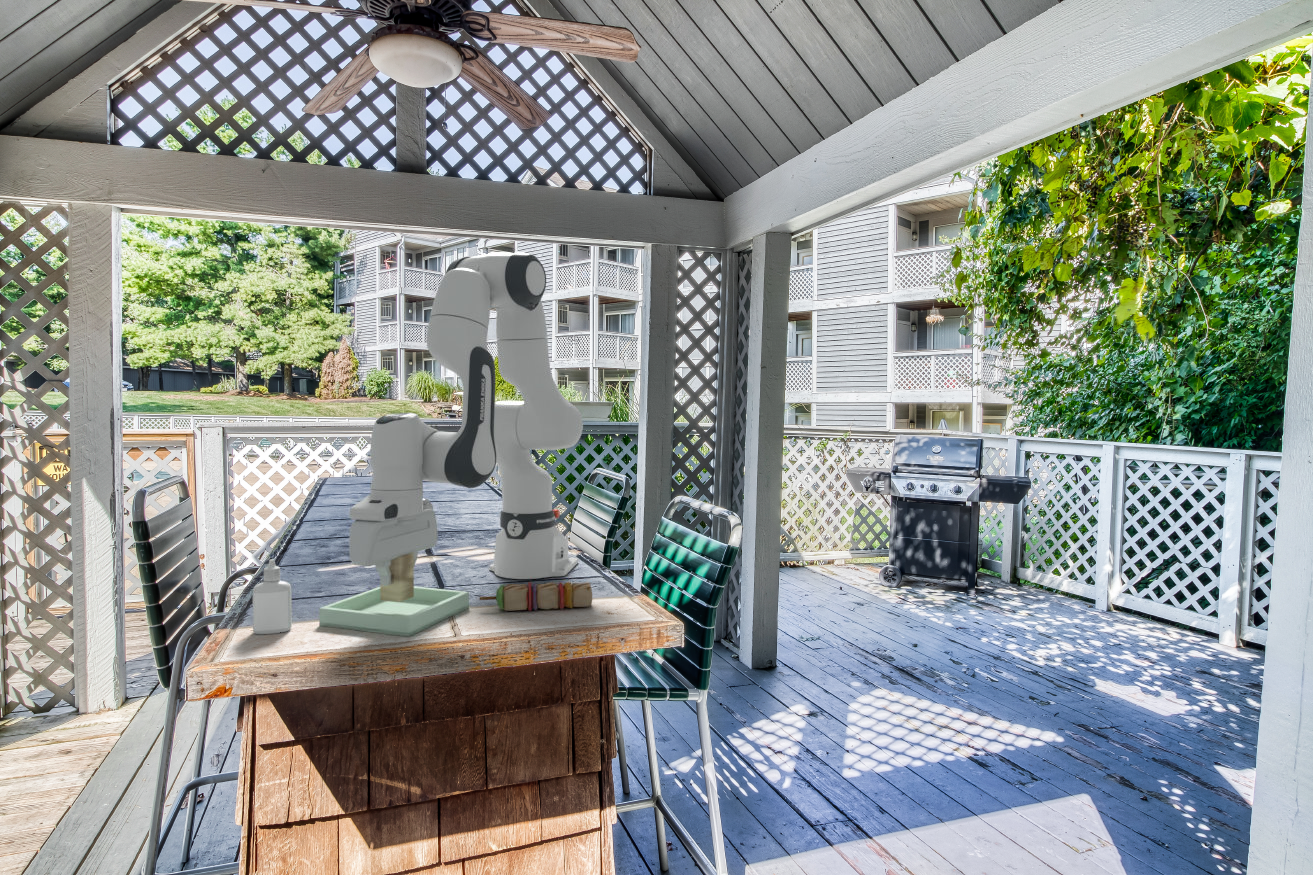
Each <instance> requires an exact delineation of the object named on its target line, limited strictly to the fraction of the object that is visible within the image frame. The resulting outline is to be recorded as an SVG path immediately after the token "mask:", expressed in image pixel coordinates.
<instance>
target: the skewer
mask: <svg viewBox="0 0 1313 875" xmlns="http://www.w3.org/2000/svg"><path fill="white" fill-rule="evenodd" d="M495 594H496V595H494V596H479V598H478V600H479V601H490V600H491V601H494V600H495V601H496V604H497V606H498V607H499V609H500V610H504V611H521V610H523V611H524V610H525V611H526V610H527V611H532V610H535V611H537V610H538V609H542V610H550V609H564V608H570V609H573V608H581V607H583V608H585V607H586V608H587V607H591V606H592V605H593V604H592V603H593V590H592V585H591V582H568V581H567V582H564V584H563V582H559V583H558V584H557V583H556V582H546V583H539V584H537V583H536V582H534V583H532V582H531V581H529V582H528V584H527V583H523V584H517V583H514V584H513V583H510V584H501V585H500V586H499V587H498V588H497V589H496V593H495Z"/></svg>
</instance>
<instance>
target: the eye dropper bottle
mask: <svg viewBox="0 0 1313 875" xmlns="http://www.w3.org/2000/svg"><path fill="white" fill-rule="evenodd" d="M268 561H269V562H268V565H267V566H266V567H264V568H263V581H262V582H260V583H258V584H256V585H255V586H254V587H253V589H252V632H253V634H255V635H274V634H275V635H276V634H279V633H280V632H281V633H285V632H289V631H290V630H291V628H292V626H293V622H292V621H293V620H292V615H293V614H292V611H293V610H292V607H293V606H292V586H291V584H290V583H289V582H288V581H284V580H281V567H280V566H278V565H276V562H275V559H269V560H268Z"/></svg>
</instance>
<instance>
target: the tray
mask: <svg viewBox="0 0 1313 875" xmlns="http://www.w3.org/2000/svg"><path fill="white" fill-rule="evenodd" d="M469 608H470V592H469V591H463V590H453V589H443V588H435V587H434V588H432V587H423V586H414V597H412V598H409V599H407V600H404V601H402V602H392V601H383V600H380V586H377V587H374V588H372V589H370V590H367V591H364V592H360V593H358V594H355V595H353V596H349V597H347V598H344V599H342V600H341V599H340V600H338V601H336V602H333V603H330V604H327V605H324V606H322V607H321V606H320V607H319V608H318V609H319V610H318V615H319V617H318V618H319V619H318V620H319V626H320V627H328V628H336V629H343V630H344V629H345V630H354V631H360V632H369V633H377V634H384V635H393V636H398V637H399V636H401V637H408V638H409V636H410V637H411V636H414V635H416V634H418V633H420V632H421V631H424V630H426V629H428V628H430V627H432V626H434V625H436V624H439V623H440V621H441V622H443V621H445V620H446V619H449V618H451V617H453V616H455V615H457V614H459V613H461V612H463V611H465V610H467V609H469ZM444 619H445V620H444ZM442 620H443V621H442ZM431 625H432V626H431Z"/></svg>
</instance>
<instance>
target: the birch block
mask: <svg viewBox="0 0 1313 875" xmlns="http://www.w3.org/2000/svg"><path fill="white" fill-rule="evenodd" d="M388 567H389V570H390V573H391V574H394V583H393V584H390V585H388V586H385V585H381V583H380V582H379V584H380V586H379V587H380V600H383V601H392V602H402V601H404V600H407V599H409V598H412V597H414V585H415V583H414V581H415V580H414V579H415V576H414V575H415V574H414V573H415V569H414V568H415V565H414V553H410V554H406V555H403V556H400V557H398V558H395V559H392V560H391V565H390V566H388Z"/></svg>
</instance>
